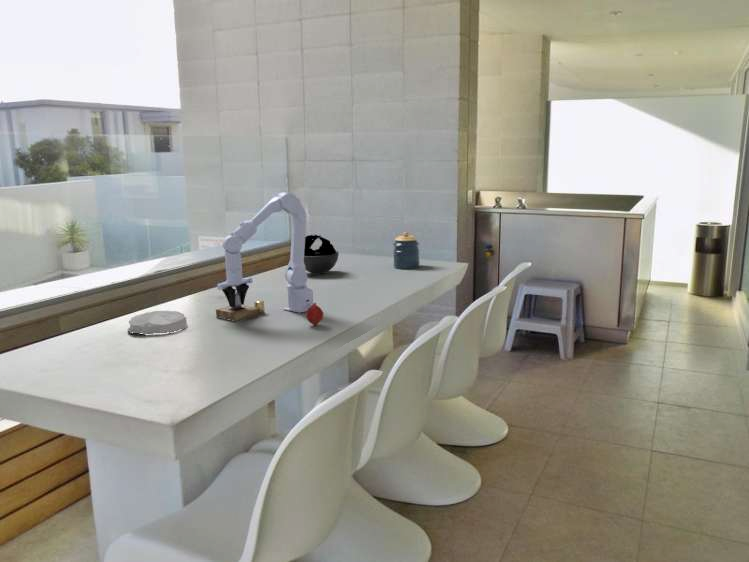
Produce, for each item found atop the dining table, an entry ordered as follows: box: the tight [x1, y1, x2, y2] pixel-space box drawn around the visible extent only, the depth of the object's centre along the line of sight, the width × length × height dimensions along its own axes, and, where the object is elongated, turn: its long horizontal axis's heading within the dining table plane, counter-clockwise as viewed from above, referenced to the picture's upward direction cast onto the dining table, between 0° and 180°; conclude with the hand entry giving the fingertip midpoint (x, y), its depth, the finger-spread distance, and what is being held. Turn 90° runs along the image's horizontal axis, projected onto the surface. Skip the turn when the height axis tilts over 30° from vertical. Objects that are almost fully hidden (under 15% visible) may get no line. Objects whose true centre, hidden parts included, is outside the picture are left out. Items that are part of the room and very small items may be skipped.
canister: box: [392, 231, 420, 270], centre depth 327 cm, size 13×13×18 cm
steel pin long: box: [232, 291, 242, 311], centre depth 241 cm, size 4×4×8 cm
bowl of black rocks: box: [304, 234, 340, 275], centre depth 317 cm, size 20×20×19 cm
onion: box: [305, 302, 324, 326], centre depth 225 cm, size 6×6×8 cm
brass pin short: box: [253, 300, 266, 315], centre depth 245 cm, size 4×4×4 cm
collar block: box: [215, 304, 260, 322], centre depth 241 cm, size 12×10×3 cm
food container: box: [127, 310, 189, 335], centre depth 229 cm, size 20×20×7 cm
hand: (236, 305), depth 241 cm, fingers closed on steel pin long, 4 cm apart
